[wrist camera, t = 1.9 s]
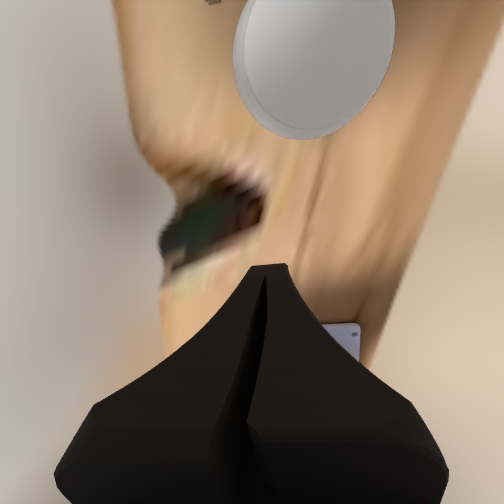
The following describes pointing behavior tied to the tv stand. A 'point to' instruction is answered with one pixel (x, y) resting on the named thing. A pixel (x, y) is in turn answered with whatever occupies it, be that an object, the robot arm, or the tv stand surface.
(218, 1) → the seating bay
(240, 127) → the tv stand surface
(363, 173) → the tv stand surface
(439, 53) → the tv stand surface
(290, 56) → the supplement bottle
